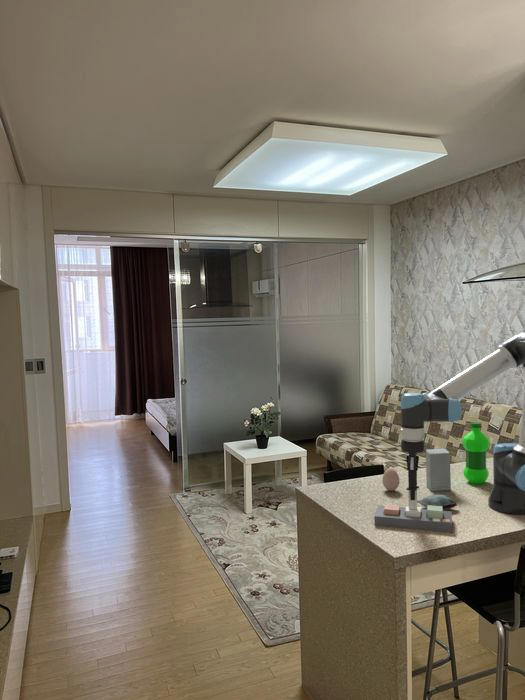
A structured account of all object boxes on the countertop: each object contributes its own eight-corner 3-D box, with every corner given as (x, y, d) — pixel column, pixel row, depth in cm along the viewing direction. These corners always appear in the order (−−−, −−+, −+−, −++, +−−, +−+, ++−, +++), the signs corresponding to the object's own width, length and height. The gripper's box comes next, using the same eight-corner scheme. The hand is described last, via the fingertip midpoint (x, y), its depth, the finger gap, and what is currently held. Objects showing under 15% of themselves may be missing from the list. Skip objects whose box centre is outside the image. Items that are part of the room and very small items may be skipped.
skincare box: (445, 486, 217) (445, 447, 216) (451, 491, 210) (451, 452, 209) (425, 486, 217) (424, 448, 216) (430, 492, 210) (429, 452, 209)
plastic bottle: (490, 480, 223) (490, 421, 222) (487, 487, 214) (487, 426, 213) (465, 477, 228) (465, 419, 227) (461, 483, 219) (460, 424, 218)
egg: (398, 488, 216) (397, 466, 215) (400, 493, 209) (400, 470, 209) (381, 488, 216) (381, 466, 216) (383, 493, 210) (383, 470, 209)
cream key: (420, 518, 181) (420, 507, 180) (420, 523, 176) (420, 512, 176) (406, 517, 182) (406, 505, 182) (405, 522, 178) (405, 510, 177)
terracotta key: (399, 516, 183) (399, 505, 183) (398, 521, 178) (398, 510, 178) (385, 515, 184) (385, 504, 184) (384, 520, 180) (384, 508, 180)
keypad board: (451, 520, 180) (451, 510, 180) (452, 532, 170) (452, 522, 170) (378, 513, 188) (377, 504, 188) (374, 524, 178) (374, 515, 178)
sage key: (442, 517, 178) (442, 506, 178) (442, 523, 174) (442, 511, 174) (427, 516, 180) (427, 505, 180) (427, 521, 175) (427, 509, 175)
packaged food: (416, 507, 194) (416, 494, 193) (441, 502, 198) (442, 489, 198) (432, 515, 186) (432, 502, 185) (458, 510, 190) (458, 497, 190)
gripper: (402, 434, 185) (402, 501, 186) (399, 443, 173) (400, 514, 174) (424, 435, 183) (424, 503, 184) (423, 444, 170) (423, 516, 172)
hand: (412, 508), depth 179 cm, fingers closed
